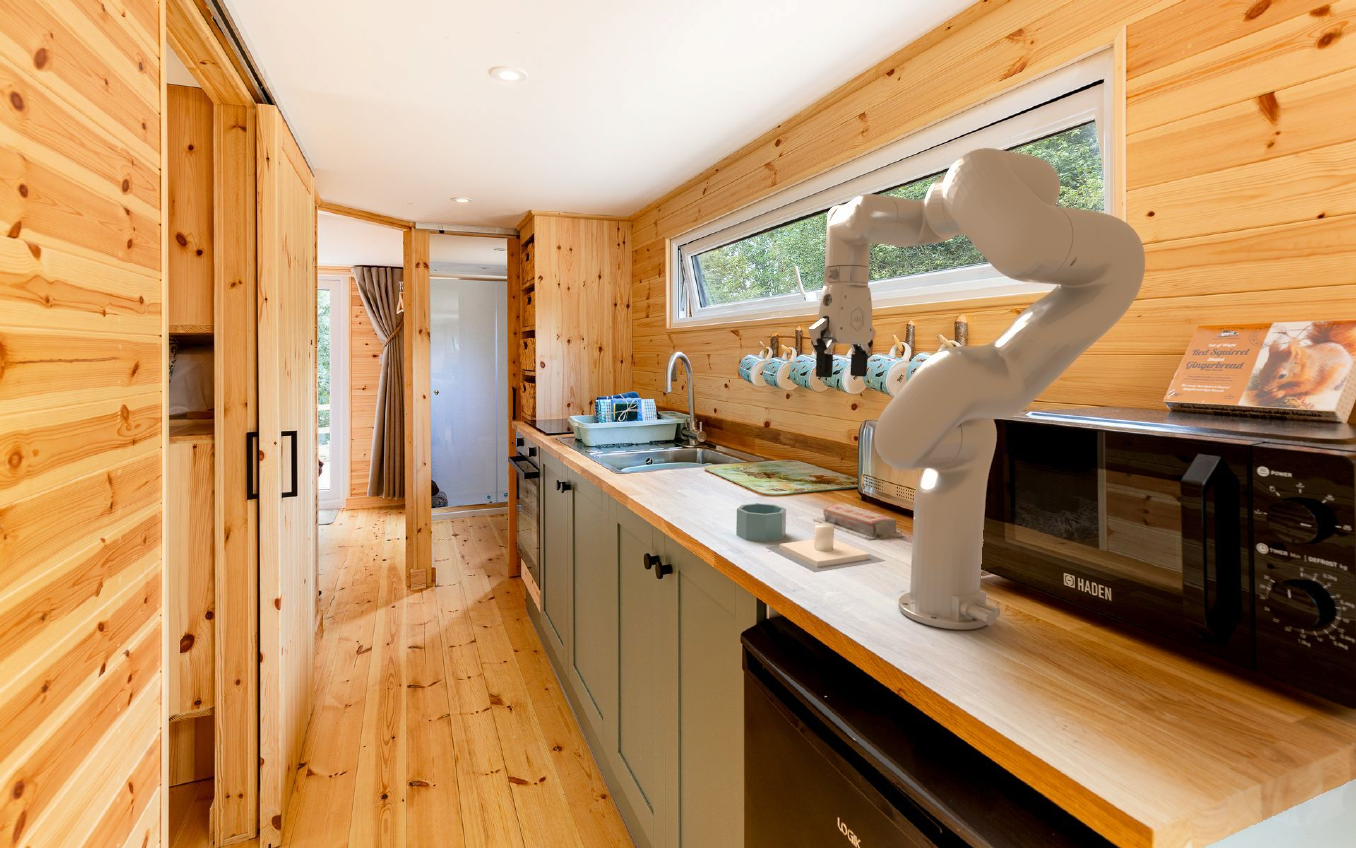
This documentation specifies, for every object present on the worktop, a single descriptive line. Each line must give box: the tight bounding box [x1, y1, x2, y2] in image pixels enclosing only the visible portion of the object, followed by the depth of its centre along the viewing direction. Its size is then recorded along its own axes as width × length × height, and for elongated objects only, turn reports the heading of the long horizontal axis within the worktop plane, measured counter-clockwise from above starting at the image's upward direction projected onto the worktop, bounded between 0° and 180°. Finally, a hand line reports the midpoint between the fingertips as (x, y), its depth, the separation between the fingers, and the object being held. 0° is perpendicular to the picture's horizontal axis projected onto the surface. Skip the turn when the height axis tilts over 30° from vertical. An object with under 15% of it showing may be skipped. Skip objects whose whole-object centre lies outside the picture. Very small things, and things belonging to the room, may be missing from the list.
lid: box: [778, 522, 871, 567], centre depth 123 cm, size 12×12×6 cm
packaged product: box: [813, 502, 903, 541], centre depth 143 cm, size 18×5×10 cm
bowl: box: [736, 503, 787, 543], centre depth 136 cm, size 10×10×6 cm
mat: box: [764, 544, 886, 573], centre depth 124 cm, size 16×16×1 cm
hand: (841, 376), depth 116 cm, fingers open, 9 cm apart
